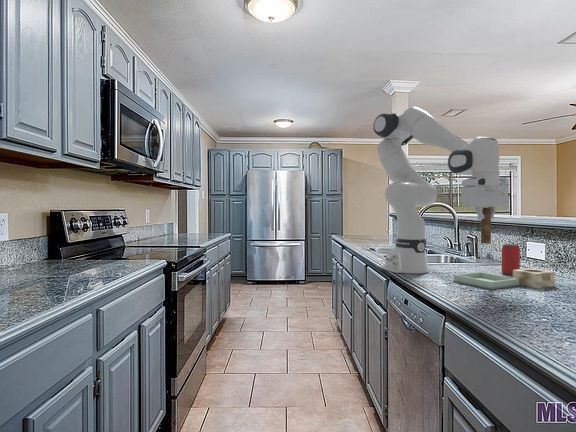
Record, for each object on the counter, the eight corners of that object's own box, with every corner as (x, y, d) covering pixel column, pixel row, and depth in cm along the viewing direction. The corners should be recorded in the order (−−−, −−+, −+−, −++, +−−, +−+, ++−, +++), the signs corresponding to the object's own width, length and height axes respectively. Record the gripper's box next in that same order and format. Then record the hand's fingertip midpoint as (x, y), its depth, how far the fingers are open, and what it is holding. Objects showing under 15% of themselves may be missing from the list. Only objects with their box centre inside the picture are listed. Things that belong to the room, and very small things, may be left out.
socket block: (512, 283, 137) (512, 269, 137) (529, 281, 141) (529, 268, 141) (537, 288, 129) (537, 273, 129) (554, 286, 133) (554, 271, 133)
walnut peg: (478, 243, 138) (478, 207, 138) (485, 242, 140) (485, 207, 140) (486, 243, 136) (486, 207, 135) (492, 243, 137) (492, 207, 137)
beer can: (502, 271, 163) (502, 243, 162) (520, 273, 159) (520, 244, 158) (500, 273, 157) (500, 245, 157) (519, 275, 153) (519, 246, 153)
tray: (453, 281, 143) (453, 274, 143) (480, 278, 148) (480, 271, 148) (491, 289, 128) (491, 282, 128) (519, 285, 134) (519, 278, 134)
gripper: (497, 182, 144) (497, 218, 145) (458, 181, 136) (458, 220, 137) (513, 181, 139) (513, 219, 139) (472, 180, 130) (472, 220, 131)
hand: (485, 219), depth 138 cm, fingers closed on walnut peg, 3 cm apart
